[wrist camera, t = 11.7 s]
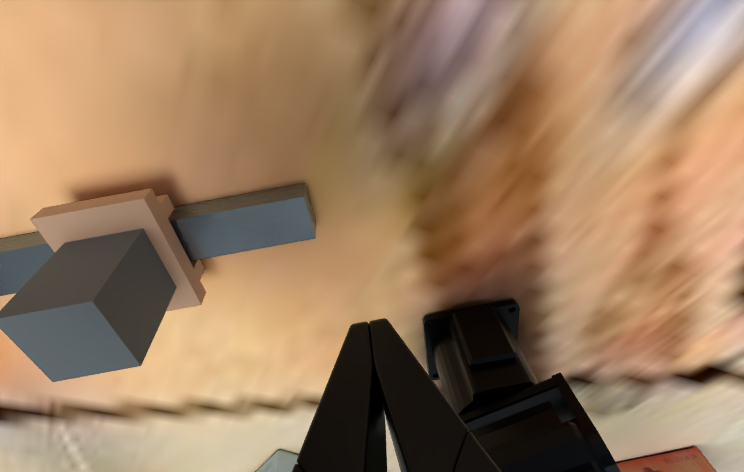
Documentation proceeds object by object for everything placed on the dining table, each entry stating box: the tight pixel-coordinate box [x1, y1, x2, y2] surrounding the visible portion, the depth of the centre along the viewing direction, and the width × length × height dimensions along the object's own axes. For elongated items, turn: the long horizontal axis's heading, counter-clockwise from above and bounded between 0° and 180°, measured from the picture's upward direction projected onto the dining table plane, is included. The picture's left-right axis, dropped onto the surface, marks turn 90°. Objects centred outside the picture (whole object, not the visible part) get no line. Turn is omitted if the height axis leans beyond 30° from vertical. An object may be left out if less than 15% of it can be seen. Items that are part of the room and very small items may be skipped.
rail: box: [0, 183, 316, 296], centre depth 21 cm, size 2×18×2 cm, turn 99°
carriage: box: [0, 188, 206, 382], centre depth 18 cm, size 6×5×7 cm
